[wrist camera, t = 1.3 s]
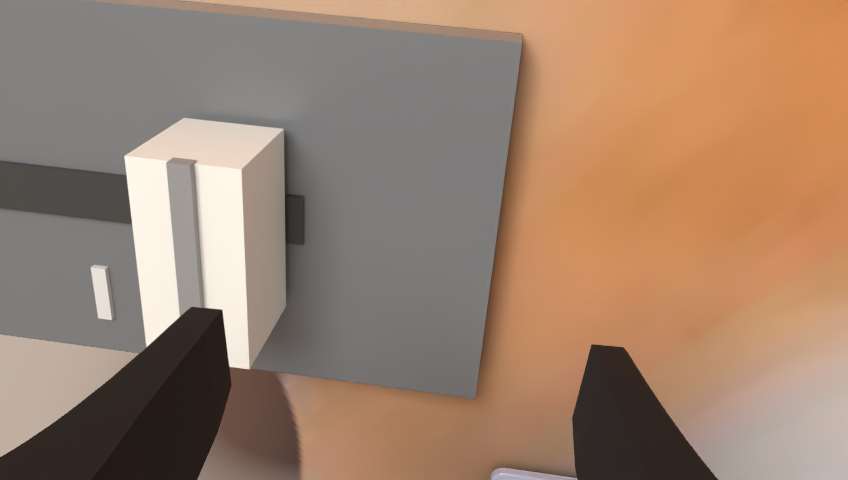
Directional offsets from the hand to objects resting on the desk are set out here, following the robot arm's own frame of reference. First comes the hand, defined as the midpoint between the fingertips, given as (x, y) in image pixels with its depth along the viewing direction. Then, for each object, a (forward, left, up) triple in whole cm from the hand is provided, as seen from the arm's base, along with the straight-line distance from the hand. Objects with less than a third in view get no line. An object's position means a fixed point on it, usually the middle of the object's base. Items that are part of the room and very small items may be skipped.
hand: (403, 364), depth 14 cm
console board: (-1, +12, -10) cm, 16 cm away
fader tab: (-1, +6, -8) cm, 10 cm away
